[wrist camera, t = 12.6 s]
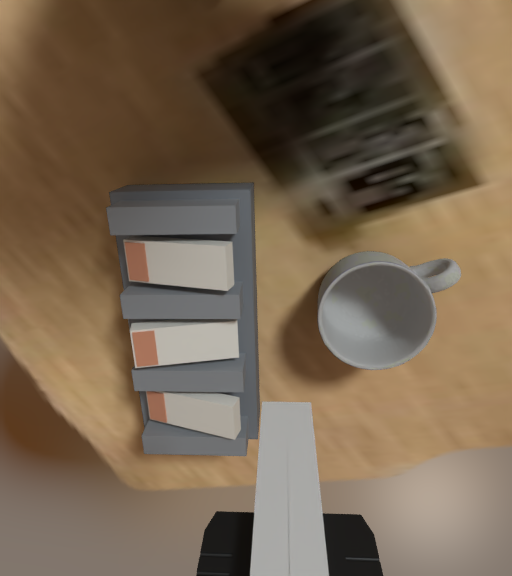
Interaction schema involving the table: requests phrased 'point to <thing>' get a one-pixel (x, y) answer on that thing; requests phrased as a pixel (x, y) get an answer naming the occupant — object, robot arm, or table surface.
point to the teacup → (380, 308)
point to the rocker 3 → (197, 411)
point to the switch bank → (194, 303)
